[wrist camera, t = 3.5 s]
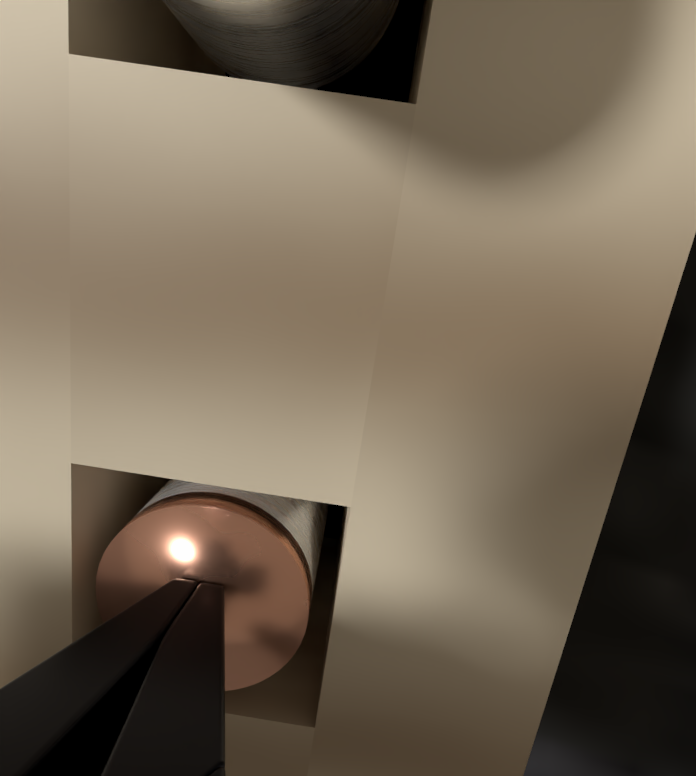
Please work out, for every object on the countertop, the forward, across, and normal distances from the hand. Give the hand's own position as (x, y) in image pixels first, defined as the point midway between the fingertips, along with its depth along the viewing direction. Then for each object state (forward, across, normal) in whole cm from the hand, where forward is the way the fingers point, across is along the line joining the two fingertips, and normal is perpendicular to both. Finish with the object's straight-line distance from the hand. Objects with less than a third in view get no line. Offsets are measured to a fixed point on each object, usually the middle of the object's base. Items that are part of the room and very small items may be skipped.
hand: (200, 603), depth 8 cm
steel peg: (+6, 0, 0) cm, 6 cm away
